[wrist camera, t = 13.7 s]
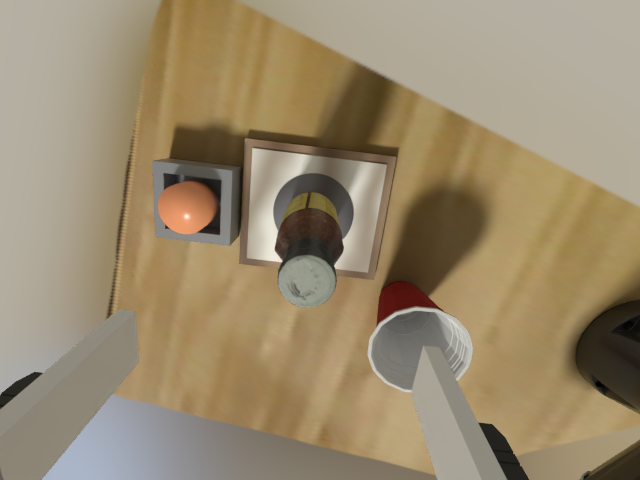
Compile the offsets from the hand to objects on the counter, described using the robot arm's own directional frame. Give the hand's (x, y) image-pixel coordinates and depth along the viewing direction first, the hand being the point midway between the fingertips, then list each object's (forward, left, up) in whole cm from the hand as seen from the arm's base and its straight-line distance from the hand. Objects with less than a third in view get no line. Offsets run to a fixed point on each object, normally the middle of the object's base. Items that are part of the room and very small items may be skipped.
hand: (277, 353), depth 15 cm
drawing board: (0, 0, -29) cm, 29 cm away
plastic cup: (-13, +11, -29) cm, 34 cm away
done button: (+14, 0, -26) cm, 29 cm away
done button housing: (+14, 0, -29) cm, 32 cm away
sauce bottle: (0, 0, -28) cm, 28 cm away
